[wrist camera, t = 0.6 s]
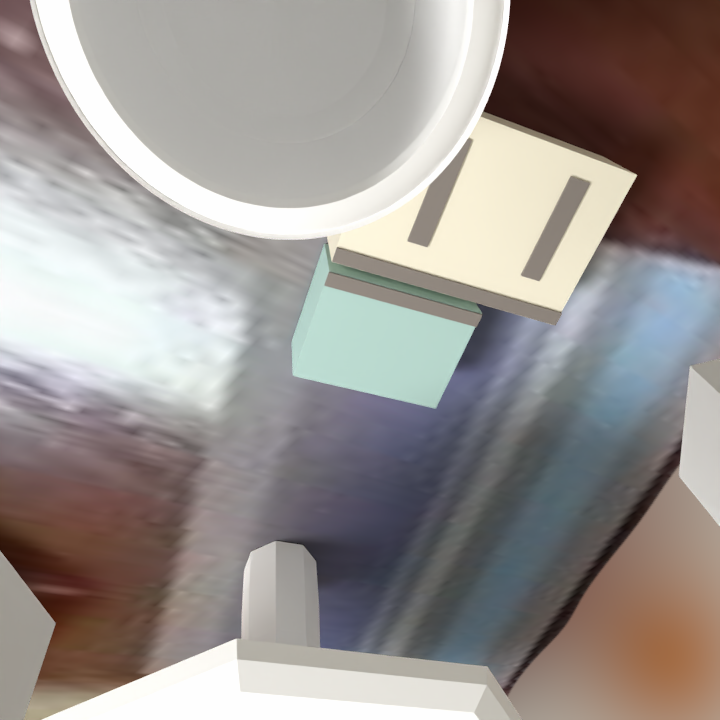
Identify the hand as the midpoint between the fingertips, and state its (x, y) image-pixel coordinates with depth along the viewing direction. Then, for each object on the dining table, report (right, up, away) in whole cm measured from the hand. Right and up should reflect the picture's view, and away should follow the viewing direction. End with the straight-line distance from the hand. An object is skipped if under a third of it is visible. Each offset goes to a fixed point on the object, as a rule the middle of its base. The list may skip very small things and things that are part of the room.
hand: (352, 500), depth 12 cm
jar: (-3, +18, +15) cm, 23 cm away
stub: (+1, +5, +23) cm, 23 cm away
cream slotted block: (+5, +11, +20) cm, 23 cm away
